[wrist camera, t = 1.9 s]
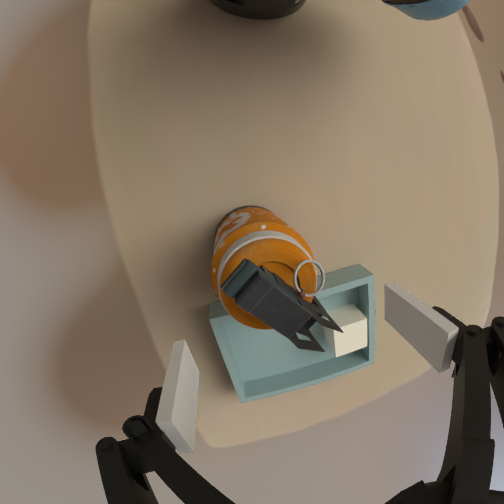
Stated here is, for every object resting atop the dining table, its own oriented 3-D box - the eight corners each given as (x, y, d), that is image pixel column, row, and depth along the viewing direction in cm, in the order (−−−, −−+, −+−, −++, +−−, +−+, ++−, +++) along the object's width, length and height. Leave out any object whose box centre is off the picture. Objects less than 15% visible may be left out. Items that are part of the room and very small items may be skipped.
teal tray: (210, 303, 37) (209, 319, 33) (359, 263, 38) (373, 274, 34) (239, 384, 42) (240, 403, 38) (363, 348, 43) (374, 363, 38)
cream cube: (321, 312, 39) (333, 329, 34) (352, 302, 39) (366, 318, 34) (324, 338, 40) (335, 357, 35) (353, 329, 40) (367, 346, 35)
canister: (246, 190, 34) (275, 211, 15) (309, 244, 36) (388, 315, 17) (201, 245, 35) (177, 327, 16) (265, 293, 38) (302, 398, 19)
